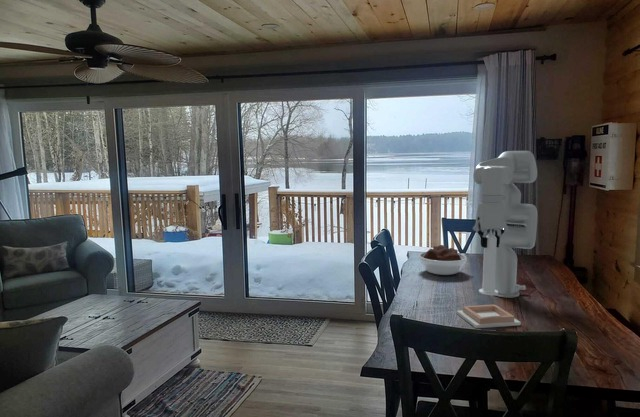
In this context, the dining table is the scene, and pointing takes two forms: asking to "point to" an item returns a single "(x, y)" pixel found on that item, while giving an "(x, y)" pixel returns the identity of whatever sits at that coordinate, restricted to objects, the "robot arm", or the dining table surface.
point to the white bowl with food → (442, 260)
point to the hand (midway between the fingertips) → (489, 246)
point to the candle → (489, 266)
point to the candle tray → (487, 316)
